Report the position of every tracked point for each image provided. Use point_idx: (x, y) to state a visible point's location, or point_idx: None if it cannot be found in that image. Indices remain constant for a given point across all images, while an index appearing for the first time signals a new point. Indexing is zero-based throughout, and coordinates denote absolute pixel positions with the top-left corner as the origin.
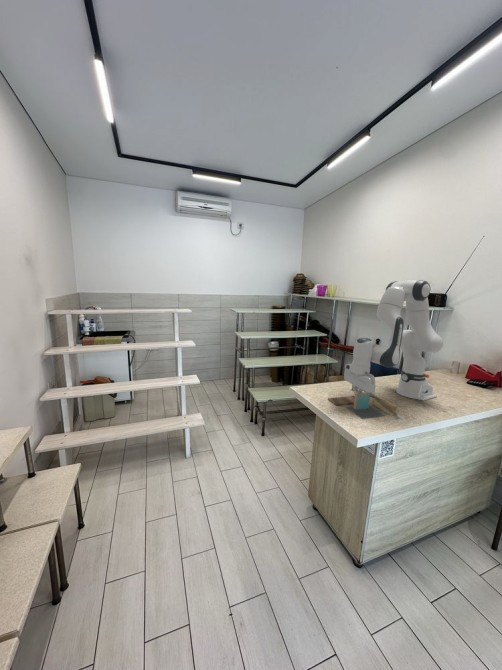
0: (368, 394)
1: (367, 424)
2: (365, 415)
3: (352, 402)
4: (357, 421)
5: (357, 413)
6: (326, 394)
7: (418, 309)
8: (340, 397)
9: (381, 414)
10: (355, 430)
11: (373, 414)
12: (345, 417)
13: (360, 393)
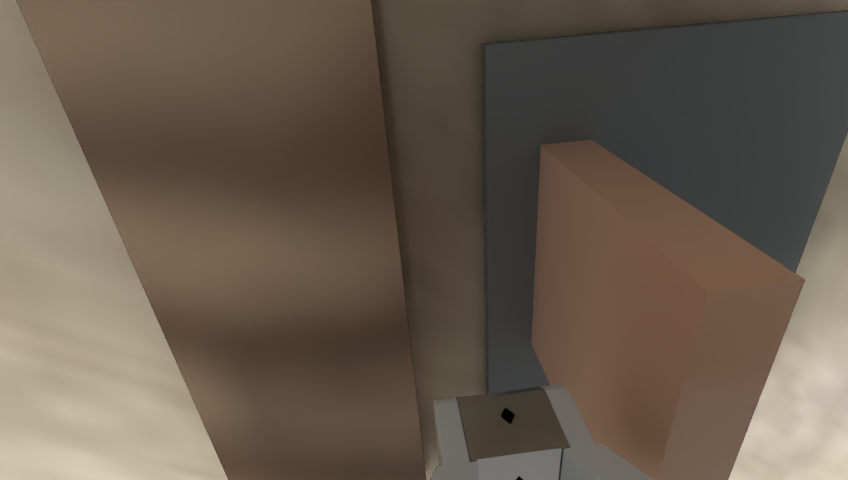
0: (779, 328)
1: (840, 357)
2: None
3: (397, 304)
4: None
5: None
6: (47, 456)
7: None
8: (205, 385)
9: (822, 51)
10: (837, 474)
11: (759, 183)
12: None
13: (581, 421)
